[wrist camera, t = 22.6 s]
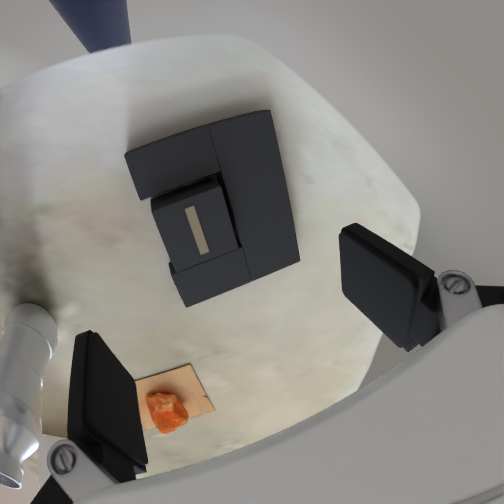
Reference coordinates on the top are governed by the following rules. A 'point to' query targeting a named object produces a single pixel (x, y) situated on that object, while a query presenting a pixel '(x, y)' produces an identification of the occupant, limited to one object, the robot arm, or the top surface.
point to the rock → (171, 399)
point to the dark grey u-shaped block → (227, 197)
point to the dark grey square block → (194, 223)
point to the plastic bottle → (22, 386)
